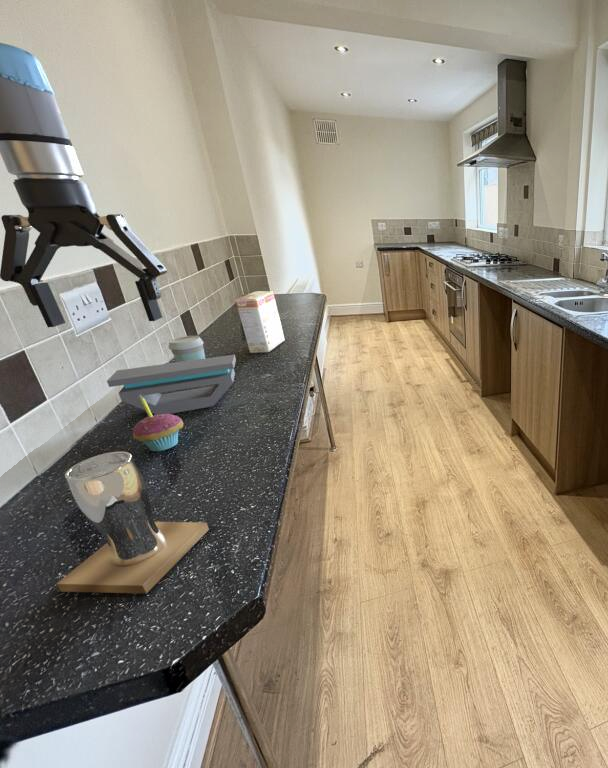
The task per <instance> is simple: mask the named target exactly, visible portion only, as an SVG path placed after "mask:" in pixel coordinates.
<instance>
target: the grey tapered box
mask: <svg viewBox="0 0 608 768" xmlns="http://www.w3.org/2000/svg"><path fill="white" fill-rule="evenodd" d="M236 362H237V359H236V354H228V355H221V356H213V357H212V356H211V357H205V359H198V360H190V361H183V362H177V361H176V362H169V363H162V364H154V365H146V366H139V367H130V368H125V369H124V368H123V369H118V370H115V372H114V373H113V374H112V375H111V376H110V377H108V379H107V380H106V383H107V385H108V388H112V387H119V386H123V387H122V388H121V389H120V390H119V391H118V395H119V399H120V400H121V402H123V403H126V404H128V405H131V406H133V407H136V408H138V409H142V410H143V411H146V410H145V408H144V406H143V404H142V402H141V400H140V399H141V397H140V395H141V396H142V398H144V399H145V401H146V403H147V405H148V407H149V409H150V411H151V413H152V415H153V414H154V415H156V414H157V415H158V414H172V415H173V414H178V413H181V412H189V411H194V410H199V409H205V408H210V407H211V408H212V407H214V406H215V405H216V404H217V402H218V401H219V400H220V399H221V398H222V397H223V396H224V394H226V392H227V391H228V390H229V389H230V387H231V386H232V385H233V384H234V381H235V376H236V372H235V365H236Z"/></svg>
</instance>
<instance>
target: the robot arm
mask: <svg viewBox="0 0 608 768" xmlns="http://www.w3.org/2000/svg"><path fill="white" fill-rule="evenodd" d="M0 156H1V158H2V161H3V163H4V165H5V168H6V170H7V173H8V174H10V175H13V176H16V179H14V180H13V181H12V182H13V186H14V188H15V191H16V192H17V195H18V197H19V199H20V202H21V204H22V205H23V206H24V208H25V209H26V210H27V213H28V216H24V215H21V214H3V215H2V216H1V218H0V219H1V222H2V226H3V228H4V231H5V232H4V239H3V248H2V256H1V262H0V263H1V264H0V279H1V280H2V281H4V282H12V283H16V284H19V285H20V286H21V287H22V288H23V291H24V293H25V294H26V296H27V298H28V300H29V303H30V304H31V305H32V306H33V307H35V306H37V307H38V310H39V311H40V313H41V317H42V318H43V320H44V323H45V325H46V326H47V328H55V327H58V326H61V325H64V324H66V320H65V318H64V316H63V313H62V311H61V310H60V309H61V308H60V307H59V304H58V302H57V300H56V298H55V296H54V293H53V290H52V289H51V287H50V285H49V282H44V280H43V279H42V278H43V276H44V274H45V273H46V270H47V269H48V267H49V265H50V264H51V262H52V260H53V258H54V256H55V255H56V253H57V251H58V250H59V249H61V248H63V247H64V248H67V247H93V248H94V249H97V250H99V251H101V252H102V253H104V254H105V255H106V256H108V257H109V258H111V259H112V260H113V261H115V262H116V263H118V265H120V266H121V267H123V268H125V269H126V271H129V272H130V273H132V274H133V275H134V276H136V277H137V278H139V279H138V280H135V281H134V283H135V286H136V289H137V291H138V294H139V297H140V299H141V303H142V306H143V308H144V311H145V315H146V316H147V319H148V322H156V321H157V320H160V319H162V318H163V315H162V312H161V309H160V305H159V303H158V300H160V299H161V298H162V294H161V291H160V289H159V285H158V282H157V278H158V277H160V276H163V275H165V274H167V273H168V269H167V268H166V267H165V266H164V265H163V263H161V261H160V260H159V259H158V258H157V256H155V255H154V253H153V252H152V251H151V250H150V249H149V248H148V247H147V246H146V245H145V244H144V243H143V241H142V240H141V239H140V238H139V237H138V236H137V235H136V234H135V233H134V232H133V230H132V229H131V228H130V225H129V224H128V221H127V220H126V218H125V216H124V215H123V214H121V213H119V214H118V213H113V214H111V213H109V214H107V215H104V216H101V215H100V214H99V213H98V212H97V210H96V203H95V201H94V198H93V196H92V193H91V190H90V187H89V184H88V183H86V182H85V181H83V180H81V178H83V177H84V172H83V169H82V167H81V164H80V162H79V159H78V155H77V154H76V150H75V148H74V145H73V143H72V141H71V138H70V137H69V133H68V131H67V128H66V125H65V122H64V119H63V117H62V113H61V110H60V108H59V105H58V102H57V99H56V93H55V91H54V90H53V88H52V86H51V84H50V81H49V79H48V77H47V74H46V72H45V70H44V68H43V65H42V64H41V61H40V60H39V59H38V58H37V57H36V56H35V55H34V54H32V53H31V52H30V51H27V50H25V49H22V48H20V47H17V46H15V45H12V44H8V43H3V42H0ZM104 227H106V228H107V229H108V230H110V231H112V233H114V235H115V237H117V238H118V239H119V240H120V242H121V243H122V244H123V245H124V246H125V247H126V248H127V249H128V250H129V251H130V252H131V253H132V255H131V254H130V253H128V251H126V250H124V249H123V248H122V247H121V246H119V245H118V244H117V243H115V242H114V239H112V238H110V237H109V236H108V235H106V234H105V233H104V232H102V231H103V229H104ZM32 229H34V230H36V231H37V232H38V233H39V234H38V236H37V238H36V240H35V241H34V245H35V246H34V248H33V249H32V252H31V253H30V255H29V257H28V258H27V253H28V248H29V240H30V231H31V230H32ZM133 255H134V256H135V257H134V256H133Z"/></svg>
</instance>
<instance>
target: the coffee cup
mask: <svg viewBox="0 0 608 768" xmlns="http://www.w3.org/2000/svg"><path fill="white" fill-rule="evenodd" d="M168 350H170V351H171V353H172V355H173V357H174V359H175V361H176V362H183V361H190V360H198V359H205V358H206V353H205V348H204V341H203V339H202V338H201V337H200V336H199V335H185V336H180V337H175V338H172V339H170V340H169V341H168Z"/></svg>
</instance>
